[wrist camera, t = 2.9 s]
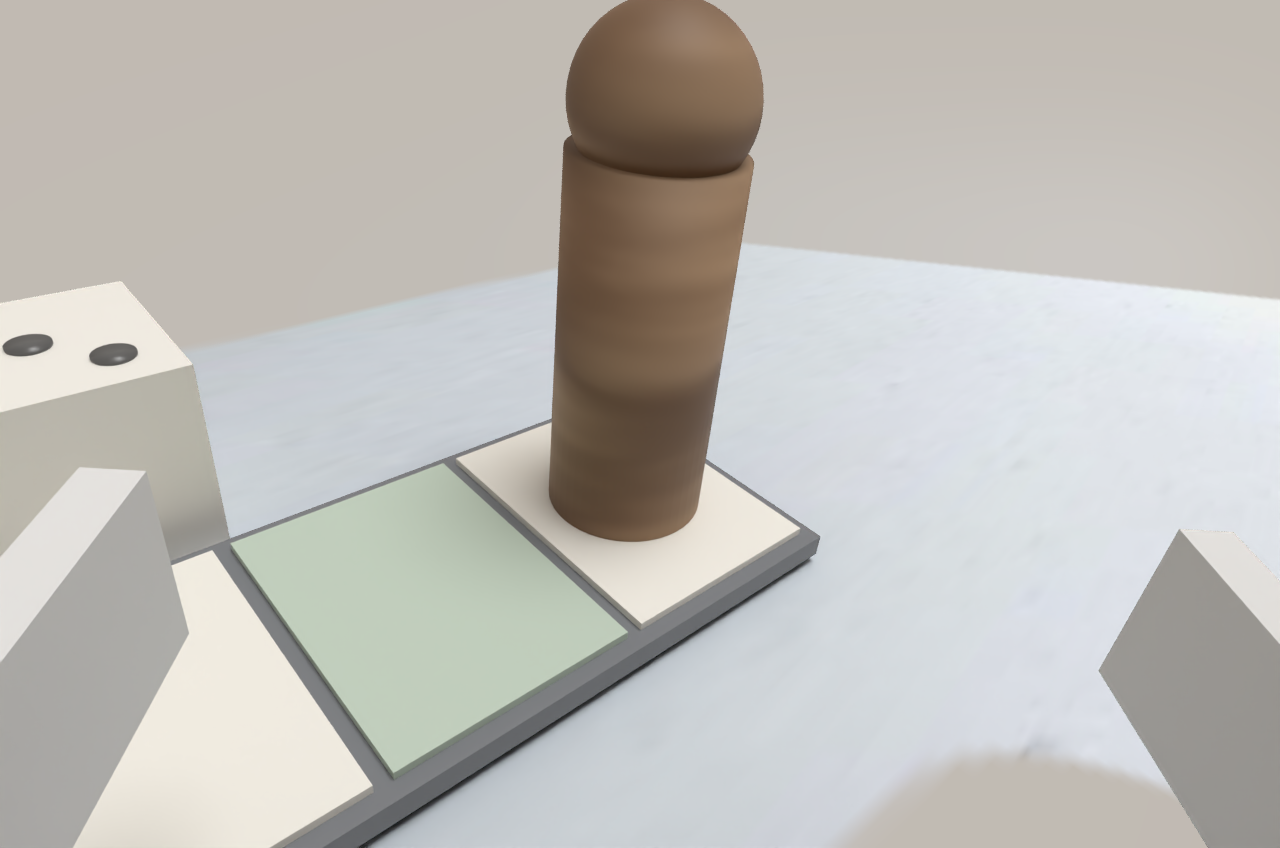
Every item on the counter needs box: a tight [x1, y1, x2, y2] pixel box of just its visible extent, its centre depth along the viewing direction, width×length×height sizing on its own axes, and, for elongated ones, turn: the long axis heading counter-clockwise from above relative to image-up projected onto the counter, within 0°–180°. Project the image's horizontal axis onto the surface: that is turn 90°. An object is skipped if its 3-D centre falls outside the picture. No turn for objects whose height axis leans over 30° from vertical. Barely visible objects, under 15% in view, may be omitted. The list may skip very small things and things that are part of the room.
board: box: [73, 419, 820, 848], centre depth 16 cm, size 8×30×1 cm, turn 132°
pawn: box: [549, 0, 763, 542], centre depth 20 cm, size 4×4×12 cm
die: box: [0, 281, 230, 561], centre depth 20 cm, size 5×5×5 cm
